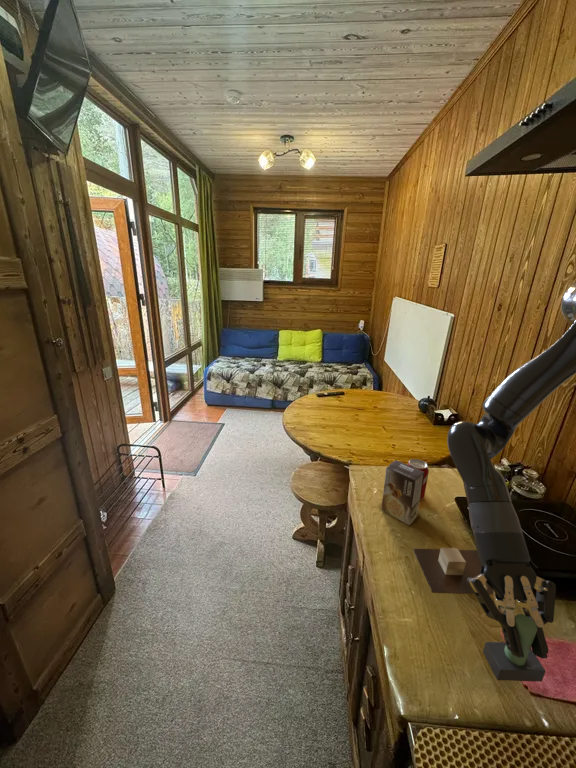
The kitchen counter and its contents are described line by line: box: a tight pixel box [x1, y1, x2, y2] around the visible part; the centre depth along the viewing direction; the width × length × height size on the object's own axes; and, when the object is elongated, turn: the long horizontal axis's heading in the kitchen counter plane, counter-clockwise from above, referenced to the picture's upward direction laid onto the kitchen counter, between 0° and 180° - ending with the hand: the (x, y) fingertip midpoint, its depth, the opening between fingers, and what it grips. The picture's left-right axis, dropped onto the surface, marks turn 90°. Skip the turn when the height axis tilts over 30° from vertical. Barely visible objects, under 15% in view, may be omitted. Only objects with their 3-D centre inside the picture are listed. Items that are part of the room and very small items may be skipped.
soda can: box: [406, 458, 430, 501], centre depth 100 cm, size 7×7×12 cm
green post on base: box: [482, 613, 547, 683], centre depth 49 cm, size 4×7×10 cm, turn 89°
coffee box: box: [381, 459, 424, 526], centre depth 90 cm, size 9×6×16 cm
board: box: [412, 547, 494, 595], centre depth 74 cm, size 18×12×2 cm, turn 89°
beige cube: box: [438, 547, 466, 575], centre depth 73 cm, size 4×4×4 cm
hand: (529, 655), depth 47 cm, fingers closed on green post on base, 3 cm apart
